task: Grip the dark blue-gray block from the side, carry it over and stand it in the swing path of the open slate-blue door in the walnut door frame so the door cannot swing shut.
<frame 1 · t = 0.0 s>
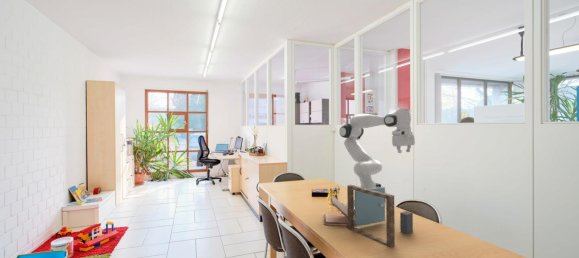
hand: (403, 152, 177), 48 cm above the table, tool pointing down, fingers open, 8 cm apart
door frame: (369, 236, 158), on the table
coffee box: (374, 202, 226), on the table
door: (371, 206, 174), point 13 cm above the table, hinge at 80.0°
case: (338, 221, 185), on the table
dark blue-gray block: (406, 232, 164), on the table
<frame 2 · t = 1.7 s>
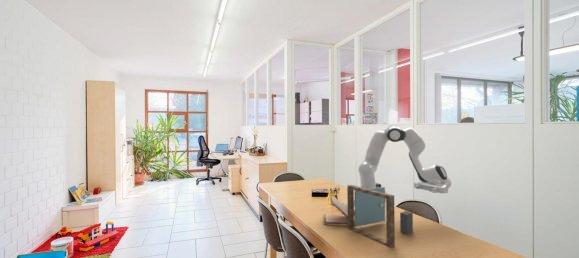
hand: (423, 188, 174), 24 cm above the table, tool horizontal, fingers open, 8 cm apart
nothing on the table moved.
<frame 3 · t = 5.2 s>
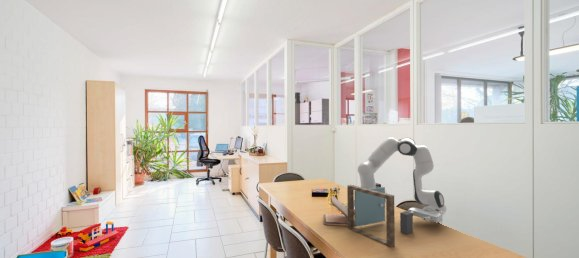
hand: (417, 216, 170), 7 cm above the table, tool horizontal, fingers open, 8 cm apart
nothing on the table moved.
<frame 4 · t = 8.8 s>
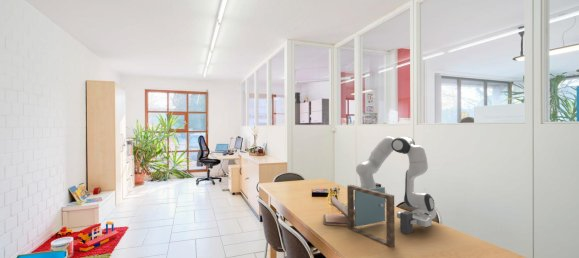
hand: (405, 221, 163), 7 cm above the table, tool horizontal, fingers closed on dark blue-gray block, 4 cm apart
dark blue-gray block: (406, 231, 164), on the table, touching gripper
everything else where it was.
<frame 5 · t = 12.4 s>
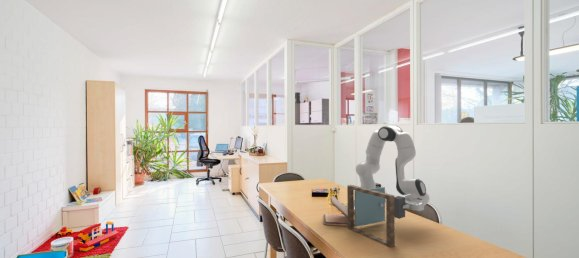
hand: (398, 205, 162), 17 cm above the table, tool horizontal, fingers closed on dark blue-gray block, 4 cm apart
dark blue-gray block: (399, 216, 163), point 10 cm above the table, touching gripper
everything else where it was.
when the fingers open (8 cm above the table, at t = 16.4 s): dark blue-gray block stays where it is, on the table.
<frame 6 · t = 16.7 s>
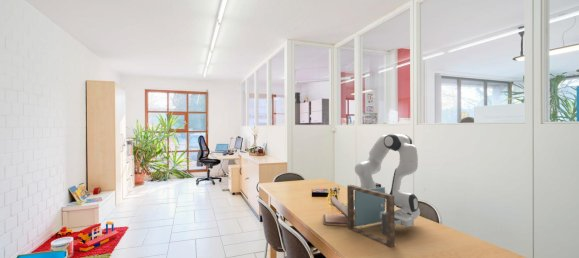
hand: (387, 220, 161), 8 cm above the table, tool horizontal, fingers open, 8 cm apart
dark blue-gray block: (388, 233, 162), on the table
everything else where it was.
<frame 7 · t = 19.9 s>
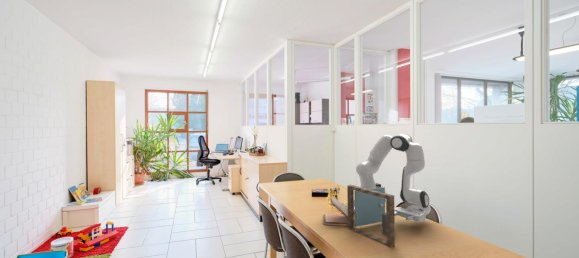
hand: (400, 216, 168), 8 cm above the table, tool horizontal, fingers open, 8 cm apart
nothing on the table moved.
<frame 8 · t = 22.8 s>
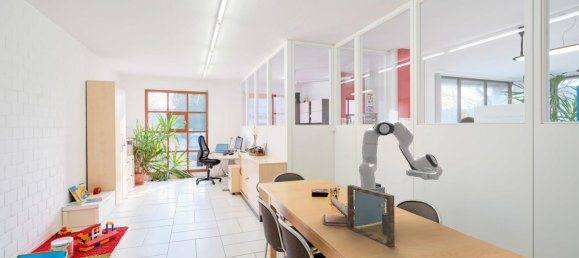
hand: (414, 175, 179), 32 cm above the table, tool horizontal, fingers open, 8 cm apart
nothing on the table moved.
at the end: dark blue-gray block inside the target area (0.4 cm from its centre), on the table; dark blue-gray block tilted 0°; door at +80° (first picture: +80°) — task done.
